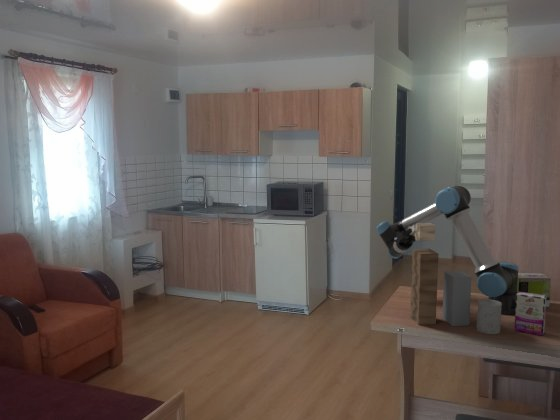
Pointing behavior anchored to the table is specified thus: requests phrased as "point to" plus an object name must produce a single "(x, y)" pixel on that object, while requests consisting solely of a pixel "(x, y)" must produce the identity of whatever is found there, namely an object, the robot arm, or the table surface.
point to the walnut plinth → (424, 286)
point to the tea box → (534, 284)
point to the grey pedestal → (456, 298)
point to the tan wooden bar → (424, 232)
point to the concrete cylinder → (489, 316)
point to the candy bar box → (530, 313)
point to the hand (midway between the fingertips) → (418, 227)
